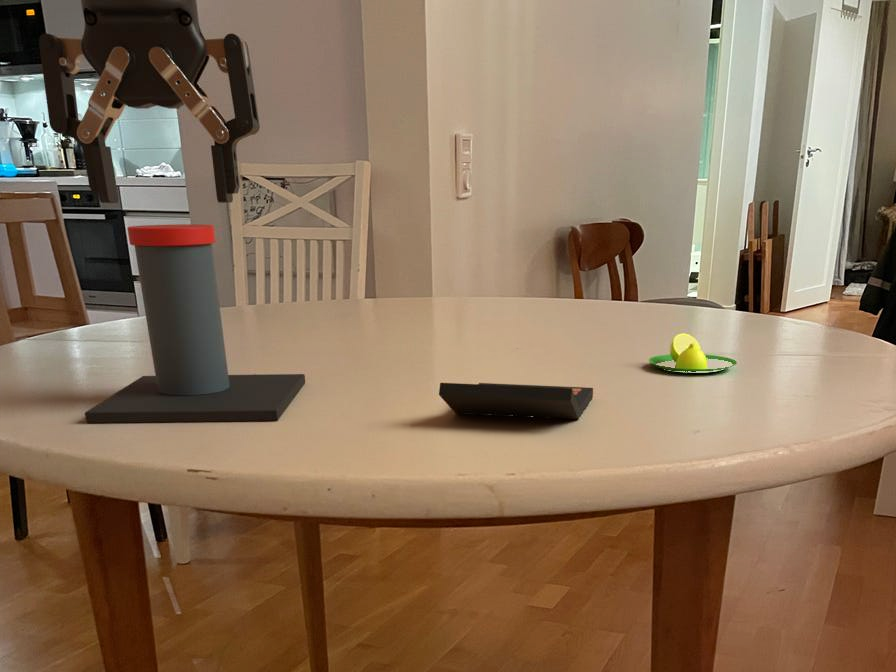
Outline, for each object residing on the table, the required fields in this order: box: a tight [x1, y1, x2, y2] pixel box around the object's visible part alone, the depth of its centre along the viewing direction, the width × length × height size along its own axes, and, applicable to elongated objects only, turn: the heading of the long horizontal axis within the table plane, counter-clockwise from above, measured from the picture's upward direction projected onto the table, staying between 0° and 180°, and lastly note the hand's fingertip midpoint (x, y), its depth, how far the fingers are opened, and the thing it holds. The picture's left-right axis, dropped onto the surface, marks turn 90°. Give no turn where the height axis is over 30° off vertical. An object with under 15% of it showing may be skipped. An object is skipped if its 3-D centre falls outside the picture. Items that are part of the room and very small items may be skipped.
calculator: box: [438, 382, 594, 420], centre depth 69 cm, size 9×12×3 cm
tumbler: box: [126, 223, 230, 396], centre depth 71 cm, size 6×6×12 cm
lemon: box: [648, 333, 738, 372], centre depth 84 cm, size 8×8×3 cm
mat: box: [84, 373, 306, 424], centre depth 73 cm, size 14×14×1 cm
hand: (167, 202), depth 68 cm, fingers open, 8 cm apart
